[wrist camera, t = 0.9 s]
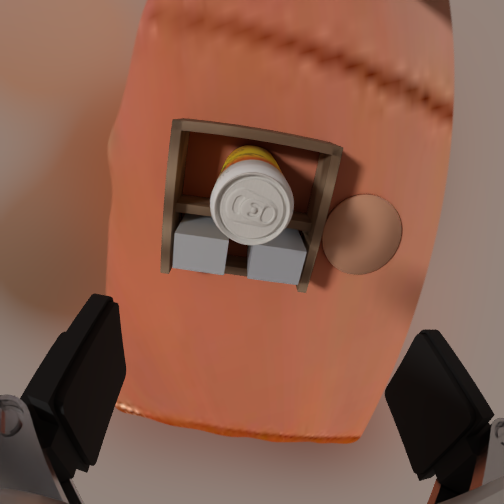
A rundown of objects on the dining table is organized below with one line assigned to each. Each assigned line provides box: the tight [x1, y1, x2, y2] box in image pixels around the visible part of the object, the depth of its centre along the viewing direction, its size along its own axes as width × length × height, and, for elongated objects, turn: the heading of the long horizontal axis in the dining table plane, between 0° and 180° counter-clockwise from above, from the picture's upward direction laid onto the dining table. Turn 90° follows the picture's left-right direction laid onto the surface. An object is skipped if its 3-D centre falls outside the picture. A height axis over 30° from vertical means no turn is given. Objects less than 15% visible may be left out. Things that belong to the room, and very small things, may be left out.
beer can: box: [210, 145, 294, 245], centre depth 28 cm, size 6×6×15 cm
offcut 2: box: [247, 228, 307, 285], centre depth 36 cm, size 4×6×7 cm
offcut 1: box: [173, 213, 229, 275], centre depth 35 cm, size 4×6×7 cm
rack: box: [161, 118, 343, 293], centre depth 34 cm, size 17×17×5 cm
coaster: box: [322, 194, 402, 275], centre depth 38 cm, size 11×11×1 cm
